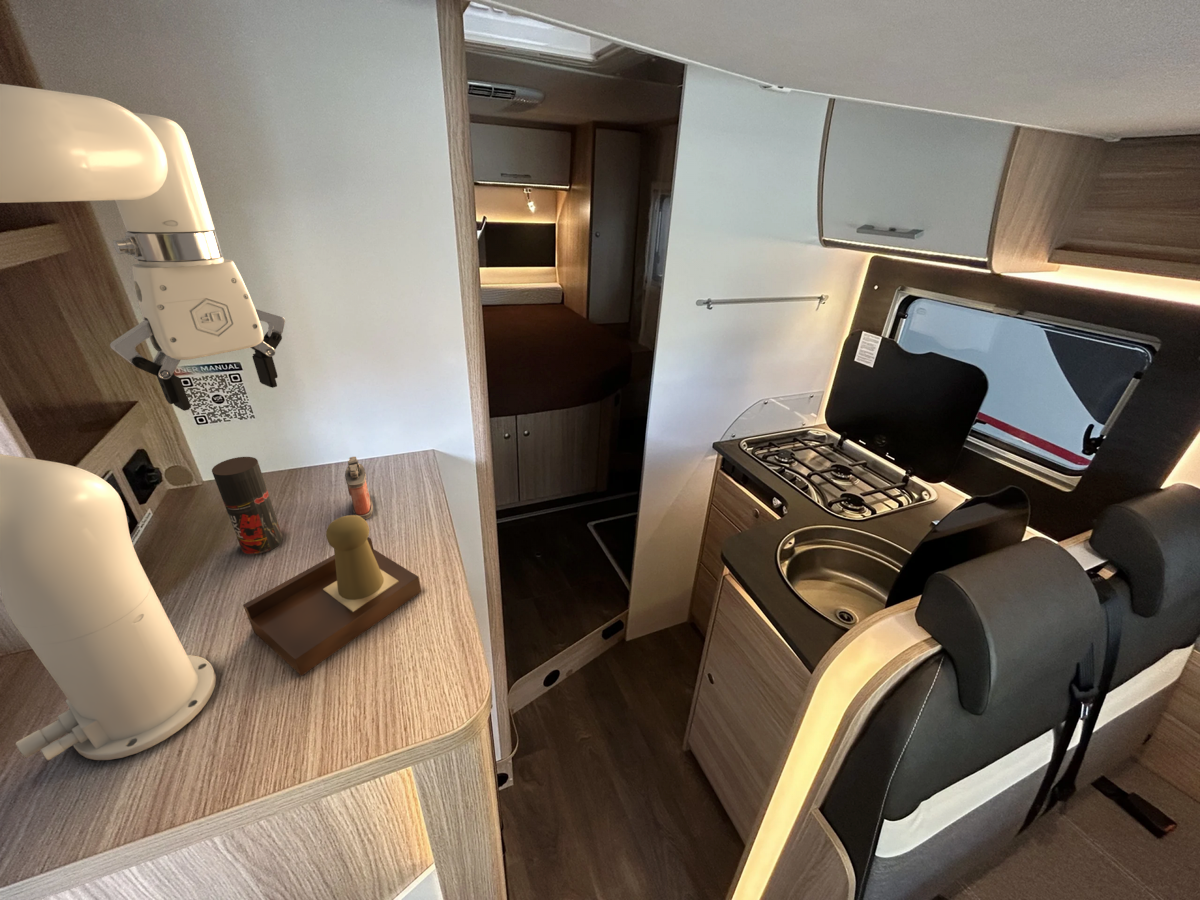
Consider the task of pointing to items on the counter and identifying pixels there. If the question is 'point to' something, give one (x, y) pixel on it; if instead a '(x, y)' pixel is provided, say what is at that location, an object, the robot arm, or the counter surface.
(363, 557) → the cork
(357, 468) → the lighter
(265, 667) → the counter surface
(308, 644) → the shelf
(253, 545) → the deodorant
